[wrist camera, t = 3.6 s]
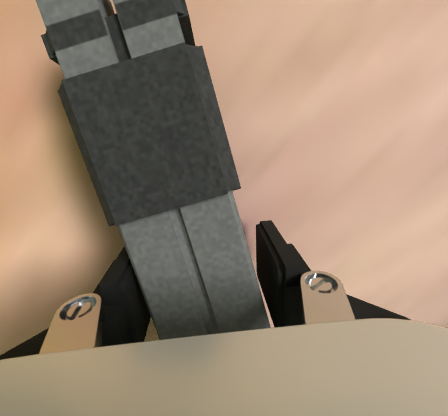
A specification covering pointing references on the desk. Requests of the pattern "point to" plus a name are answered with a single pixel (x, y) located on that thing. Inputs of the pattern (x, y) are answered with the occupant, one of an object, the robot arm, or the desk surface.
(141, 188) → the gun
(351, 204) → the desk surface
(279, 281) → the robot arm
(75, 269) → the desk surface
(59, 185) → the desk surface
